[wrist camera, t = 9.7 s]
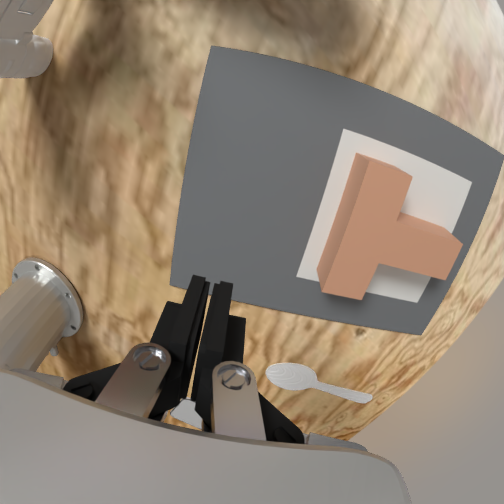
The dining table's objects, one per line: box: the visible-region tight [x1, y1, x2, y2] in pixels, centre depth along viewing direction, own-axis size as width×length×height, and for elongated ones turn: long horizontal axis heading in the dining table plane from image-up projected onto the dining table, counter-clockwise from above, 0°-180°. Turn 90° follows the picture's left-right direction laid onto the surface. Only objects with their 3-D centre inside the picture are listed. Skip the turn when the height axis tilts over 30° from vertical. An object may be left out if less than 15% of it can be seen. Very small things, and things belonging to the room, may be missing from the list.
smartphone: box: [170, 397, 202, 430], centre depth 45 cm, size 7×1×15 cm
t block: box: [316, 153, 463, 300], centre depth 26 cm, size 12×12×4 cm
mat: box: [170, 46, 504, 335], centre depth 28 cm, size 24×31×1 cm
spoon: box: [266, 363, 372, 403], centre depth 39 cm, size 5×18×1 cm, turn 63°
